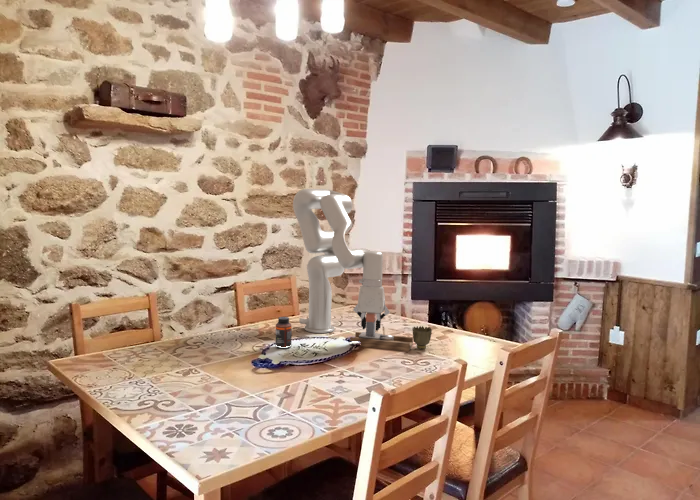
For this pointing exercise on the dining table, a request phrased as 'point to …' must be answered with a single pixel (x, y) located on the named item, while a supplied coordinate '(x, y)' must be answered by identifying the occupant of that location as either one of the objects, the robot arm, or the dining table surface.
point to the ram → (373, 330)
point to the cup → (421, 336)
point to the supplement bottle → (283, 332)
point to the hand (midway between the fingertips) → (370, 328)
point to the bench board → (385, 342)
